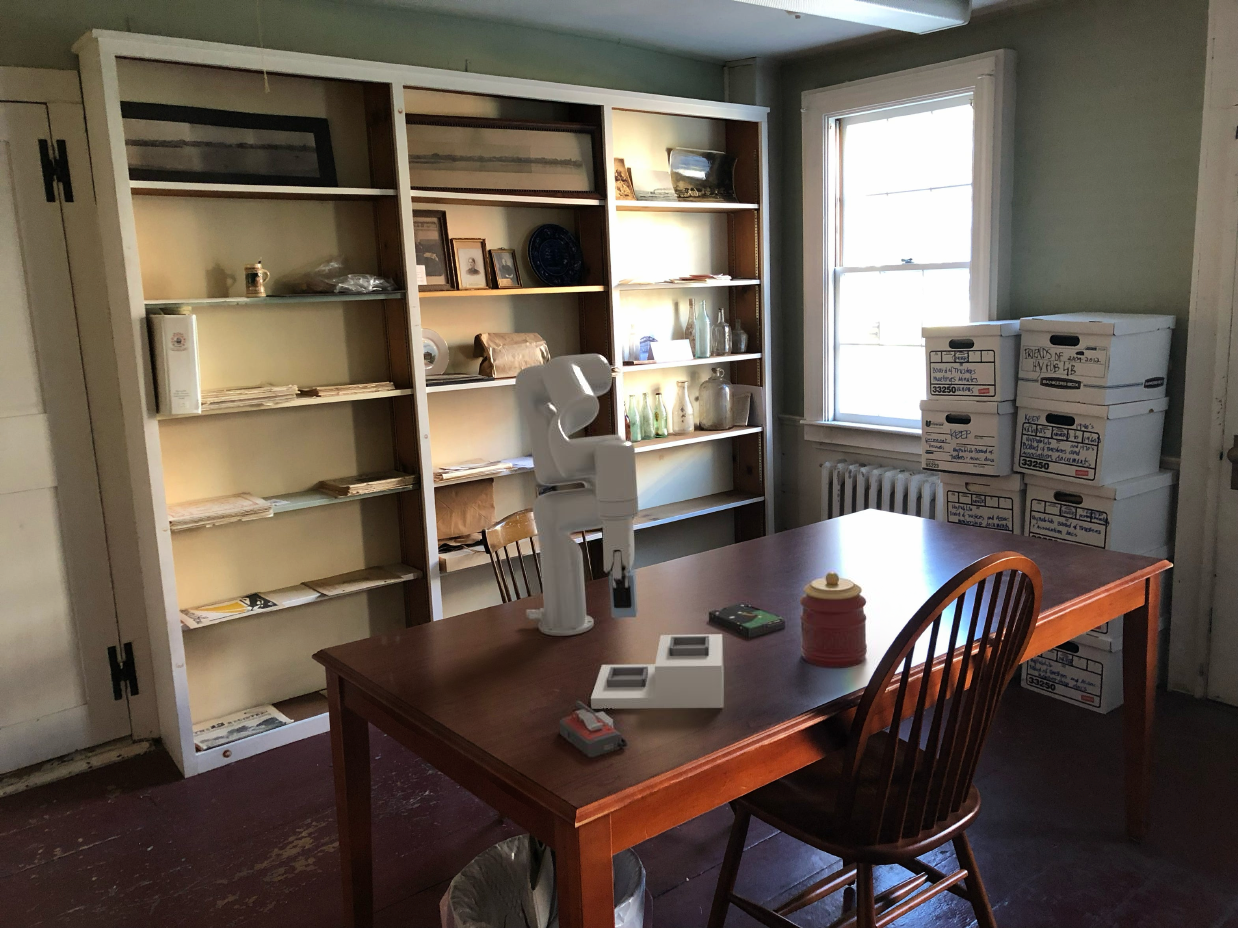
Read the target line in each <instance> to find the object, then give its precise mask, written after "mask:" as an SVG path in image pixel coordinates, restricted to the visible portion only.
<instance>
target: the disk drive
mask: <svg viewBox="0 0 1238 928" xmlns="http://www.w3.org/2000/svg"><path fill="white" fill-rule="evenodd" d="M708 621H709V622H711V623H713V624H715V625H718V626H720V627H723V628H725V629H727V630H730V631H732V630H733V631H732V632H734V631H735V632H734V633H738V634H739V633H740V634H739V635H741V634H742V635H741V636H744V635H745V636H744V637H746V636H747V638H749V639H752V638H754V636H755V637H758V635H759V636H761V634H762V635H765V634H769V633H771V631H772V632H776V631H778V629H779V630H781V629H785V628H786V621H785V620H784V618H783V617H782V616H780V615H777V614H774V613H772V612H768V611H766V610H763V609H760V608H758V607H755V606H753V605H751V604H748V603H745V602H741V603H738V604H733V605H730V606H726V607H723V608H722V609H721V610H719V609H715V610H710V611H708ZM751 637H752V638H751Z"/></svg>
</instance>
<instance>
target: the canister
mask: <svg viewBox="0 0 1238 928" xmlns="http://www.w3.org/2000/svg"><path fill="white" fill-rule="evenodd" d="M862 591H863V589H862V587H861V586H859V585H858V584H856V583H855V582H854V581H852V580H851V579H849V578H848V579H847V578H843V577H839V574H838V573H837V572H835V571H829V572H827V573H826V575H825V577H821V578H816V579H814V580H812V581H810V583H808V584H806V585H805V586H803V592H804V593H805V594H803V595H802V596H800V599H799V604H800V605H801V606H802V612H800V615H799V618H800V626H801V627H800V633H801V634H800V636H801V643H800V651H801V654H802V658H803V659H804V660H805V661H807V662H808V663H809V664H811V665H812V664H813V665H815V666H817V667H818V666H819V667H824V668H825V667H826V668H847V667H853V666H856V665H859V664H861V663H862V662H864V660H866V657H867V656H866V655H867V653H868V652H867V651H868V650H867V648H868V645H867V638H866V637H867V634H866V626H867V625H866V620H867V615H866V614H865V611H864V610H865V609H864V606H866V604H867V600H866V598H865V597H864V596H863V595H861V593H862Z"/></svg>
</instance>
